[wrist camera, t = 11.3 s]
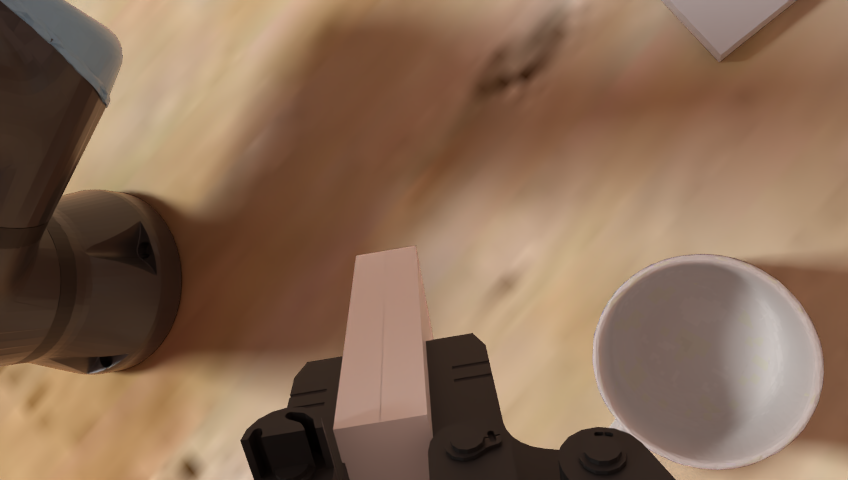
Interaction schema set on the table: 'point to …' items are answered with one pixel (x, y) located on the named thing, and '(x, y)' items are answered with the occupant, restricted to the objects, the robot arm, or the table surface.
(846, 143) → the table surface
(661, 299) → the teacup
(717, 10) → the board
